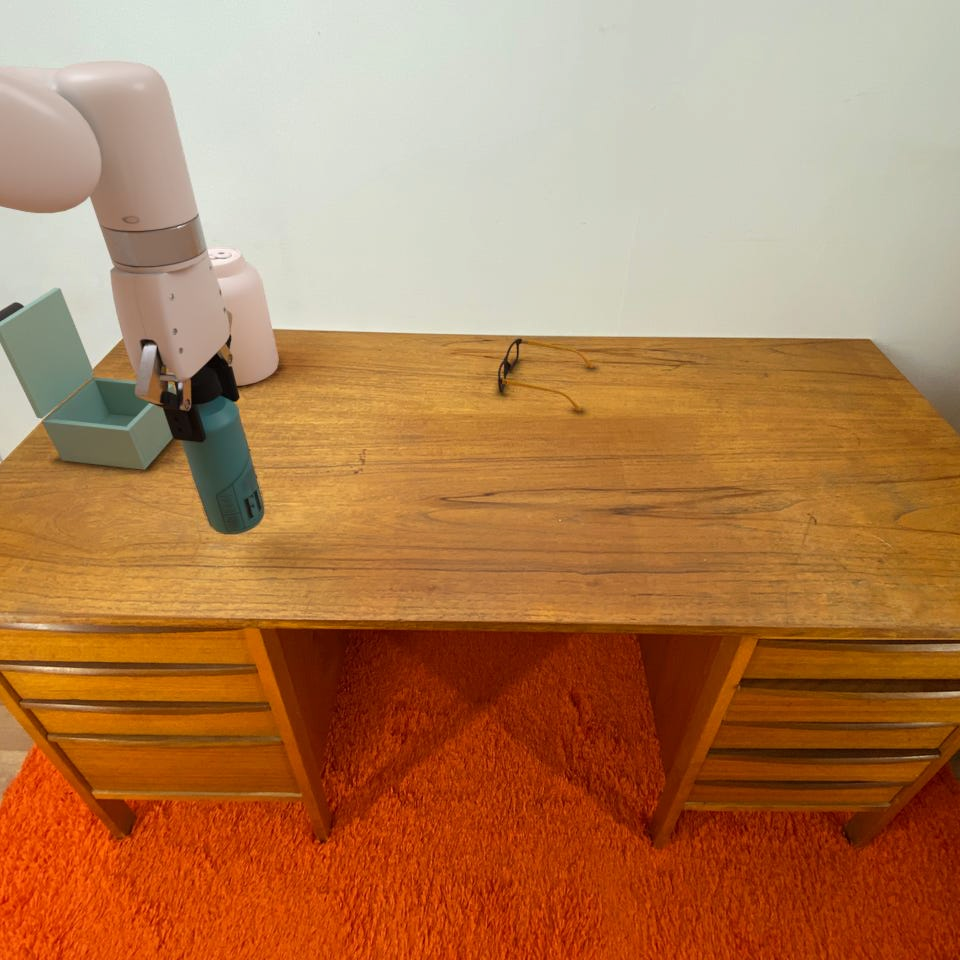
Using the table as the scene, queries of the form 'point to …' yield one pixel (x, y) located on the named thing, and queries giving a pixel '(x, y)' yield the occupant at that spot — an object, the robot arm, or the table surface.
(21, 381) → the lid
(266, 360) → the can
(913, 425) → the table surface
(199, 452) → the beverage bottle
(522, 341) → the eyeglasses
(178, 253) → the robot arm
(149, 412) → the cool box
